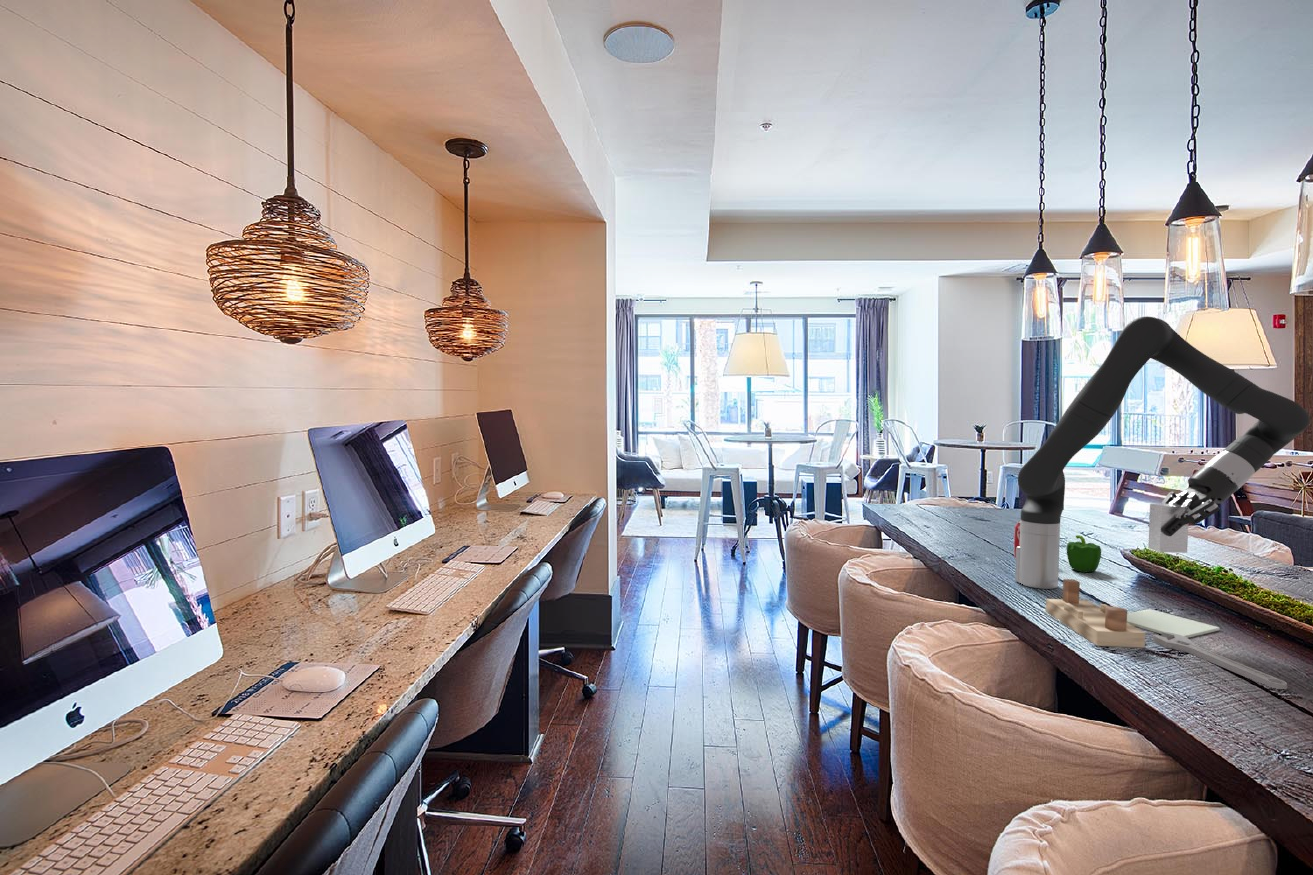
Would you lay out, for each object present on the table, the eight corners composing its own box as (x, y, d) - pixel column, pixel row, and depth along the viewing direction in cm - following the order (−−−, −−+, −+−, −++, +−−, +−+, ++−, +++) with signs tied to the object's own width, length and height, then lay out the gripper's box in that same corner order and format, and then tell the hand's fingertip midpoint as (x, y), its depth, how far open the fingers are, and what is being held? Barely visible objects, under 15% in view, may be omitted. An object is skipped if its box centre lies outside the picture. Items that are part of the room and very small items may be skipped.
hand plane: (1045, 611, 156) (1046, 577, 156) (1086, 612, 155) (1087, 578, 155) (1096, 645, 134) (1098, 606, 134) (1144, 647, 133) (1146, 608, 133)
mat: (1111, 619, 151) (1111, 616, 151) (1149, 611, 156) (1149, 608, 156) (1180, 639, 138) (1180, 636, 138) (1219, 630, 144) (1219, 627, 144)
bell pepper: (1105, 574, 189) (1106, 540, 188) (1073, 573, 191) (1074, 538, 190) (1092, 567, 197) (1093, 534, 197) (1061, 566, 199) (1063, 533, 198)
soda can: (1043, 563, 202) (1044, 524, 201) (1018, 562, 203) (1019, 523, 203) (1035, 558, 209) (1036, 520, 208) (1010, 557, 210) (1011, 519, 210)
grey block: (1148, 548, 149) (1150, 503, 148) (1174, 548, 148) (1176, 503, 147) (1159, 552, 145) (1161, 506, 144) (1187, 552, 144) (1189, 506, 143)
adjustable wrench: (1291, 693, 114) (1292, 682, 114) (1255, 693, 114) (1255, 683, 114) (1174, 639, 139) (1174, 631, 139) (1144, 639, 139) (1144, 631, 139)
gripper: (1185, 461, 151) (1126, 513, 153) (1232, 467, 137) (1166, 525, 139) (1210, 485, 151) (1150, 536, 153) (1259, 493, 137) (1193, 550, 139)
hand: (1158, 531), depth 146 cm, fingers closed on grey block, 4 cm apart
